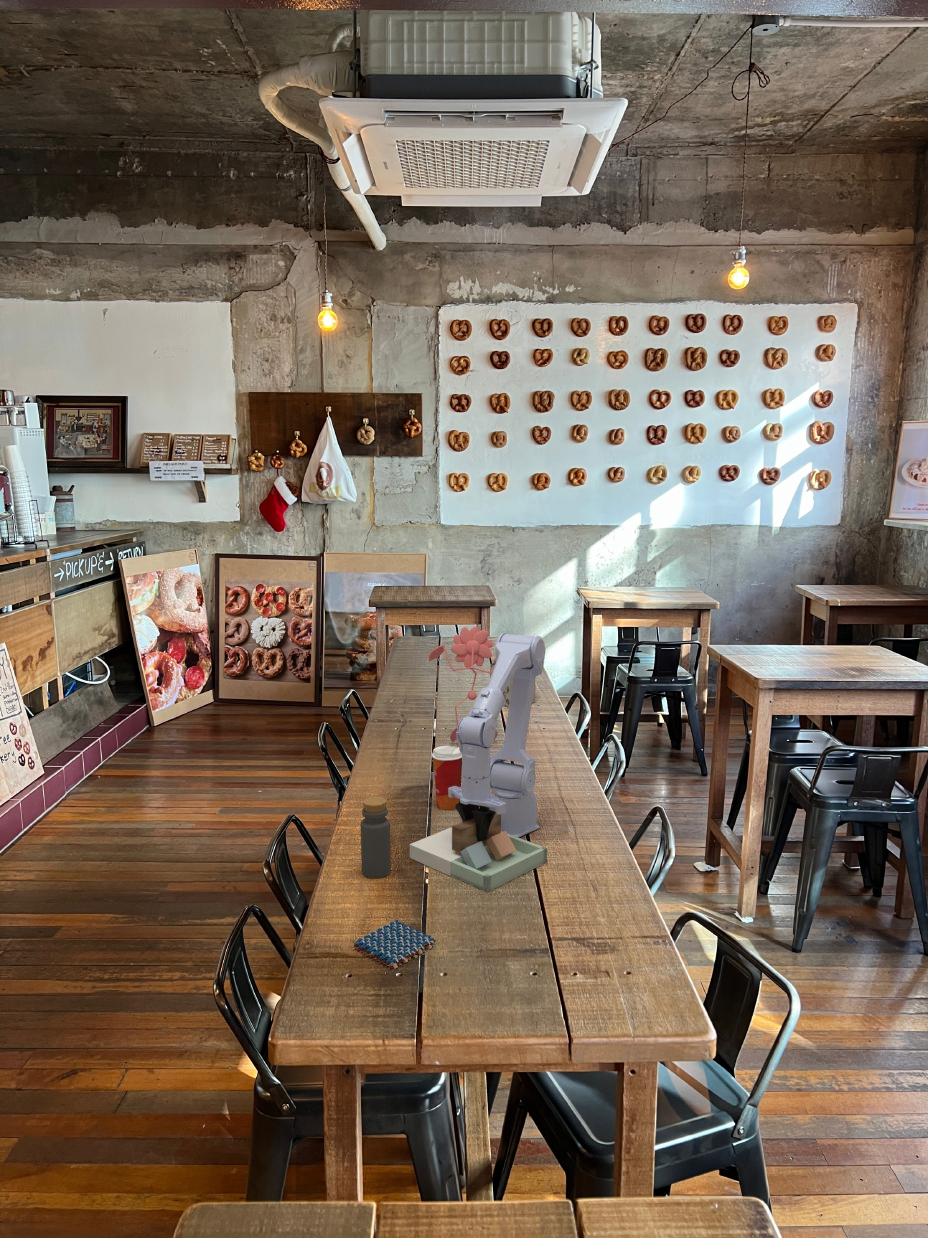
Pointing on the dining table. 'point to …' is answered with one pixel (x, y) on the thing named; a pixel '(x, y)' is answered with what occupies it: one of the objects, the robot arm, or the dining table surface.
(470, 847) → the tile
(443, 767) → the paper cup
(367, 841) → the bottle
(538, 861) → the tray
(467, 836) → the bar
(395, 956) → the woven mat
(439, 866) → the bench
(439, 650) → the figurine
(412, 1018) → the dining table surface
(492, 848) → the tile
